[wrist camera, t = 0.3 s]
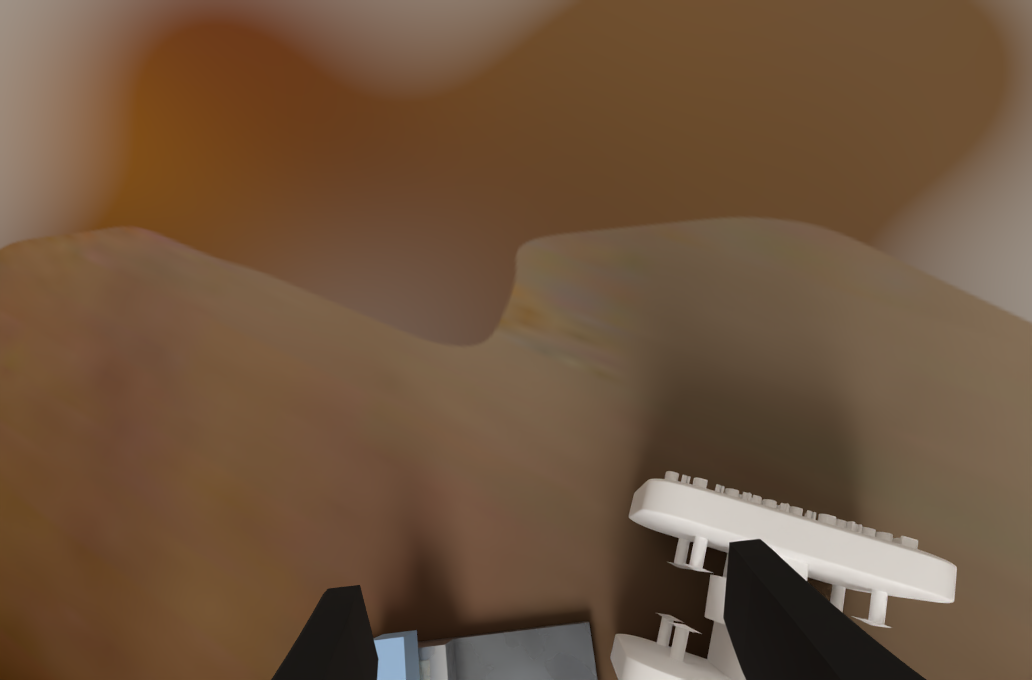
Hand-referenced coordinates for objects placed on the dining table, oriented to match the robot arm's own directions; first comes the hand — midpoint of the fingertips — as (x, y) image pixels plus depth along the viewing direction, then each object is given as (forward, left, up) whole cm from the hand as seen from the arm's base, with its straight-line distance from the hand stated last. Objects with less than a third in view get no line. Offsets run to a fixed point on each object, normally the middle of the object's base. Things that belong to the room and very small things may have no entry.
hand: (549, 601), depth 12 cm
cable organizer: (-3, -10, -30) cm, 32 cm away
